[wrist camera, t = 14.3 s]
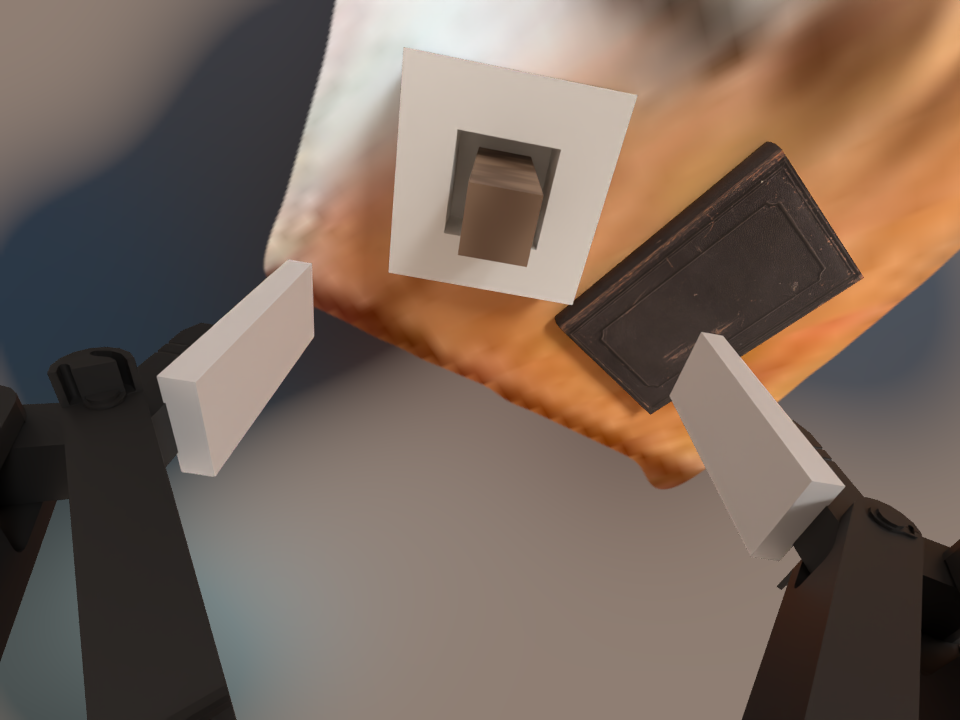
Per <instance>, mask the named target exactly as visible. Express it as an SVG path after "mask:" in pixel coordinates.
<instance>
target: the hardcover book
mask: <svg viewBox="0 0 960 720" xmlns="http://www.w3.org/2000/svg"><path fill="white" fill-rule="evenodd" d="M863 278H864V277H863V275H862V274H861V272H860V271H859V269H858V268H857V266H856V265H855V263H854V261H853V260H852V258H851V257H850V255H849V254H848V252H847V251H846V249H845V247H844V246H843V244H842V243H841V241H840V240H839V238H838V236H837V235H836V233H835V232H834V230H833V229H832V227H831V226H830V224H829V222H828V221H827V219H826V218H825V216H824V215H823V213H822V212H821V210H820V208H819V207H818V205H817V204H816V202H815V201H814V199H813V198H812V196H811V194H810V193H809V191H808V190H807V188H806V187H805V185H804V184H803V182H802V180H801V179H800V177H799V176H798V174H797V173H796V171H795V170H794V168H793V166H792V165H791V163H790V162H789V160H788V159H787V157H786V156H785V154H784V152H783V151H782V149H781V148H780V147H778V146H777V145H776V144H775V143H772V142H766V143H764V144H763V145H762V146H761V147H760V148H758V149H757V150H756V151H755V152H754V153H752V154H751V155H750V156H749V157H748V158H746V159H745V160H744V161H743V162H741V163H740V164H739V165H738V166H737V167H735V168H734V169H733V170H732V171H731V172H729V173H728V174H727V175H726V176H725V177H723V178H722V179H721V180H720V181H719V182H717V183H716V184H715V185H714V186H712V187H711V188H710V189H709V190H708V191H706V192H705V193H704V194H703V195H702V196H700V197H699V198H698V199H697V200H696V201H694V202H693V203H692V204H691V205H689V206H688V207H687V208H686V209H685V210H683V211H682V212H681V213H680V214H679V215H677V216H676V217H675V218H674V219H673V220H671V221H670V222H669V223H668V224H667V225H665V226H664V227H663V228H662V229H660V230H659V231H658V232H657V233H656V234H654V235H653V236H652V237H651V238H650V239H648V240H647V241H646V242H645V243H644V244H642V245H641V246H640V247H639V248H637V249H636V250H635V251H634V252H633V253H631V254H630V255H629V256H628V257H627V258H625V259H624V260H623V261H622V262H621V263H619V264H618V265H617V266H616V267H615V268H613V269H612V270H611V271H610V272H608V273H607V274H606V275H605V276H604V277H602V278H601V279H600V280H599V281H598V282H596V283H595V284H594V285H593V286H592V287H590V288H589V289H588V290H587V291H586V292H584V293H583V294H582V295H581V296H579V297H578V298H577V299H576V300H575V301H574V302H573V305H569V306H567V307H566V308H565V309H564V310H563V311H561V312H560V313H559V314H558V315H556V316H555V320H556V323H557V325H558V326H559V327H560V329H561V330H562V331H563V332H564V333H566V334H567V335H568V336H569V337H570V338H571V339H572V340H573V341H574V342H575V343H576V344H577V345H578V346H579V347H580V348H581V349H582V350H583V351H584V352H585V353H586V354H588V355H589V356H590V357H591V358H592V359H593V360H594V361H595V362H596V363H597V364H598V365H599V366H600V367H601V368H602V369H603V370H604V371H605V372H606V373H607V374H608V375H610V376H611V377H612V378H613V379H614V380H615V381H616V382H617V383H618V384H619V385H620V386H621V387H622V388H623V389H624V390H625V391H626V392H627V393H628V394H629V395H630V396H632V397H633V398H634V399H635V400H636V401H637V402H638V403H639V404H640V405H641V406H642V407H643V408H644V409H645V410H646V411H647V412H648V413H649V414H650V415H651V414H652V413H654V412H655V411H657V410H658V409H660V408H661V407H663V406H665V405H666V404H668V403H669V402H671V401H672V400H671V398H670V394H671V392H672V390H673V388H674V386H675V384H676V382H677V380H678V378H679V376H680V374H681V372H682V370H683V368H684V366H685V364H686V362H687V360H688V358H689V356H690V354H691V352H692V350H693V348H694V346H695V344H696V342H697V340H698V338H699V336H700V333H701V332H704V333H710V334H715V335H721V336H723V337H724V338H725V339H726V340H727V342H728V343H729V344H730V345H731V346H732V348H733V349H734V350H735V351H736V353H737V354H738V355H739V356H740V357H741V356H743V355H744V354H746V353H747V352H749V351H750V350H752V349H754V348H755V347H757V346H758V345H760V344H761V343H763V342H764V341H766V340H768V339H769V338H771V337H772V336H774V335H775V334H777V333H779V332H780V331H782V330H783V329H785V328H786V327H788V326H789V325H791V324H793V323H794V322H796V321H797V320H799V319H800V318H802V317H804V316H805V315H807V314H808V313H810V312H811V311H813V310H814V309H816V308H818V307H819V306H821V305H822V304H824V303H825V302H827V301H828V300H830V299H832V298H833V297H835V296H836V295H838V294H839V293H841V292H843V291H844V290H846V289H847V288H849V287H850V286H852V285H853V284H855V283H857V282H858V281H860V280H861V279H863Z"/></svg>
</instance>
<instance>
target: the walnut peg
mask: <svg viewBox="0 0 960 720" xmlns="http://www.w3.org/2000/svg"><path fill="white" fill-rule="evenodd" d="M542 200H543V192H542V189H541V186H540V183H539V180H538V177H537V174H536V171H535V168H534V164H533V161H532V158H531V157H530V156H525V155H520V154H514V153H509V152H504V151H498V150H493V149H488V148H483V147H479V149H478V152H477V155H476V159H475V162H474V165H473V168H472V172H471V175H470V178H469V182H468V188H467V195H466V202H465V209H464V216H463V222H462V229H461V236H460V243H459V250H458V255H461V256H466V257H472V258H478V259H483V260H489V261H495V262H500V263H506V264H512V265H517V266H523V267H527V264H528V260H529V256H530V251H531V247H532V243H533V239H534V234H535V230H536V226H537V222H538V217H539V213H540V209H541V205H542Z"/></svg>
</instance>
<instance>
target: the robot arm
mask: <svg viewBox="0 0 960 720" xmlns="http://www.w3.org/2000/svg"><path fill="white" fill-rule="evenodd" d="M313 337H314V314H313V281H312V263H306V262H301V261H295V260H289V259H288V260H287V261H286V262H284V263H283V264H282V265H281V266H280V267H279V268H278V269H277V270H275V271H274V272H273V273H272V274H271V275H270V276H269V277H268V278H266V279H265V280H264V281H263V282H262V283H261V284H260V285H259V286H258V287H256V288H255V289H254V290H253V291H252V292H251V293H250V294H249V295H247V296H246V297H245V298H244V299H243V300H242V301H241V302H239V303H238V304H237V305H236V306H235V307H234V308H233V309H232V310H231V311H229V312H228V313H227V314H226V315H225V316H224V317H223V318H221V319H220V320H219V321H218V322H217V323H216V324H215V325H211V324H204V323H200V324H198V325H195V326H192V327H190V328H188V329H185V330H183V331H181V332H180V333H179V334H177V335H176V336H175V337H174V338H172V339H171V340H170V341H169V344H165V345H164V346H163V347H162V348H160V349H159V350H158V353H154V354H153V355H152V356H150V357H149V358H148V359H147V360H146V361H144V362H143V363H142V364H141V365H140V366H138V367H137V366H136V362H135V359H134V357H133V356H132V355H131V353H130V352H127V351H125V350H122V349H120V348H110V347H101V348H89V349H85V350H82V351H77V352H73V353H71V354H69V355H67V356H64V357H62V358H60V359H58V360H57V361H56V362H55V363H53V364H52V365H51V366H50V368H49V371H48V376H49V379H50V381H51V383H52V386H53V388H54V390H55V393H56V395H57V398H58V400H59V403H48V404H30V405H29V404H27V405H22V404H21V402H20V400H19V398H18V396H17V394H16V393H15V392H14V391H13V390H12V389H11V388H9V387H5V386H1V385H0V661H1V658H2V655H3V652H4V649H5V647H6V644H7V641H8V638H9V635H10V632H11V629H12V627H13V623H14V621H15V618H16V615H17V612H18V610H19V607H20V604H21V601H22V598H23V595H24V592H25V589H26V586H27V584H28V581H29V578H30V575H31V573H32V570H33V567H34V564H35V561H36V558H37V556H38V553H39V550H40V547H41V544H42V541H43V538H44V536H45V533H46V530H47V527H48V524H49V521H50V518H51V516H52V513H53V510H54V507H55V504H56V501H57V500H63V499H69V503H70V514H71V527H72V540H73V552H74V564H75V576H76V588H77V601H78V612H79V625H80V637H81V649H82V661H83V674H84V684H85V685H84V686H85V698H86V710H87V720H237V719H236V716H235V712H234V709H233V705H232V702H231V698H230V695H229V691H228V687H227V684H226V680H225V677H224V673H223V670H222V666H221V663H220V659H219V656H218V652H217V648H216V645H215V642H214V638H213V634H212V631H211V628H210V624H209V620H208V616H207V613H206V610H205V606H204V602H203V599H202V595H201V592H200V588H199V585H198V581H197V577H196V574H195V570H194V567H193V563H192V560H191V556H190V553H189V549H188V546H187V542H186V538H185V534H184V531H183V527H182V524H181V520H180V517H179V513H178V510H177V506H176V503H175V499H174V495H173V492H172V488H171V485H170V481H169V478H168V474H167V471H166V466H167V465H168V464H169V463H170V462H171V460H172V459H173V458H174V457H175V456H176V454H177V456H178V460H179V464H180V468H181V471H182V472H186V473H193V474H199V475H206V476H213V477H215V476H216V475H217V473H218V472H219V470H220V469H221V468H222V466H223V465H224V463H225V462H226V460H227V459H228V458H229V456H230V455H231V453H232V452H233V451H234V449H235V448H236V446H237V445H238V444H239V442H240V441H241V439H242V438H243V436H244V435H245V433H246V432H247V431H248V429H249V428H250V427H251V425H252V424H253V422H254V421H255V419H256V418H257V417H258V415H259V414H260V412H261V411H262V410H263V408H264V406H265V405H266V404H267V402H268V401H269V399H270V398H271V397H272V395H273V394H274V393H275V391H276V390H277V388H278V387H279V385H280V384H281V383H282V381H283V380H284V378H285V377H286V376H287V374H288V373H289V371H290V370H291V368H292V367H293V366H294V364H295V363H296V361H297V360H298V359H299V357H300V356H301V354H302V353H303V351H304V350H305V349H306V347H307V346H308V344H309V343H310V342H311V340H312V339H313ZM670 398H671V400H672V402H673V404H674V406H675V408H676V410H677V412H678V414H679V416H680V418H681V420H682V422H683V424H684V426H685V428H686V430H687V432H688V434H689V436H690V438H691V440H692V442H693V444H694V446H695V448H696V450H697V452H698V454H699V456H700V458H701V460H702V462H703V464H704V466H705V468H706V470H707V471H708V473H709V475H710V478H711V480H712V482H713V483H714V485H715V487H716V489H717V491H718V493H719V495H720V497H721V499H722V501H723V503H724V505H725V507H726V509H727V511H728V513H729V515H730V517H731V519H732V521H733V523H734V525H735V527H736V529H737V531H738V533H739V535H740V537H741V539H742V541H743V543H744V545H745V547H746V549H747V551H748V553H749V555H750V557H755V558H761V559H768V560H776V561H780V560H781V559H782V558H783V557H784V556H785V554H786V553H787V552H788V551H789V550H790V549H791V548H792V547H793V546H794V547H795V549H796V551H797V552H798V554H799V556H800V557H801V559H802V560H801V561H800V562H799V563H798V564H797V565H796V566H795V567H794V568H793V569H792V570H791V571H790V573H789V574H788V575H787V576H786V577H785V578H784V579H783V580H782V581H781V582H780V584H779V585H778V586H777V587H778V588H780V589H781V590H782V589H783V588H784V587H785V586H787V588H786V591H785V594H784V597H783V600H782V603H781V606H780V609H779V612H778V615H777V617H776V620H775V623H774V626H773V629H772V632H771V635H770V638H769V641H768V644H767V647H766V650H765V653H764V656H763V659H762V662H761V665H760V668H759V671H758V674H757V677H756V680H755V682H754V686H753V688H752V691H751V694H750V697H749V700H748V703H747V706H746V709H745V712H744V715H743V718H742V720H960V540H958V541H957V542H956V543H955V544H954V545H953V546H951V547H947V546H945V545H942V544H940V543H937V542H934V541H932V540H929V539H926V538H924V537H922V534H921V532H920V531H919V530H918V529H917V527H916V526H915V525H914V523H913V522H911V521H910V520H909V519H908V518H907V517H906V516H904V515H903V514H902V513H901V512H899V511H897V510H896V509H894V508H893V507H891V506H889V505H887V504H885V503H883V502H880V501H878V500H875V499H871V498H867V497H863V496H862V494H861V493H860V492H859V491H858V489H857V488H856V487H855V486H854V485H853V484H852V482H851V481H850V480H849V479H848V478H847V476H846V475H845V474H844V473H843V472H842V471H841V469H840V468H839V467H838V466H837V464H836V463H835V462H833V461H831V457H830V456H829V455H828V454H827V452H826V451H825V450H822V447H821V445H820V444H819V443H818V442H817V441H816V439H815V438H814V437H813V436H812V435H811V433H809V432H808V431H807V430H805V429H804V428H803V427H802V426H800V425H799V424H798V423H796V422H795V421H794V420H791V419H790V418H789V416H788V415H787V414H786V413H785V412H784V410H783V409H782V408H781V407H780V405H779V404H778V403H777V402H776V400H775V399H774V398H773V397H772V396H771V394H770V393H769V392H768V391H767V389H766V388H765V387H764V386H763V385H762V383H761V382H760V381H759V380H758V378H757V377H756V376H755V375H754V373H753V372H752V371H751V370H750V369H749V367H748V366H747V365H746V364H745V362H744V361H743V360H742V359H741V357H740V356H739V355H738V354H737V353H736V351H735V350H734V349H733V348H732V346H731V345H730V344H729V343H728V342H727V340H726V339H725V338H724V337H723V336H721V335H715V334H710V333H704V332H701V333H700V336H699V338H698V340H697V342H696V344H695V346H694V348H693V350H692V352H691V354H690V356H689V358H688V360H687V362H686V364H685V366H684V368H683V370H682V372H681V374H680V376H679V378H678V380H677V382H676V384H675V386H674V388H673V390H672V392H671V394H670Z"/></svg>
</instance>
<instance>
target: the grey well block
mask: <svg viewBox="0 0 960 720" xmlns="http://www.w3.org/2000/svg"><path fill="white" fill-rule="evenodd" d="M637 96H638V95H635V94H630V93H625V92H620V91H615V90H610V89H605V88H600V87H596V86H591V85H586V84H581V83H576V82H571V81H566V80H561V79H557V78H552V77H547V76H542V75H537V74H532V73H527V72H522V71H517V70H513V69H508V68H503V67H498V66H493V65H488V64H483V63H478V62H474V61H469V60H464V59H459V58H454V57H449V56H444V55H439V54H435V53H430V52H425V51H420V50H415V49H410V48H405V47H404V51H403V65H402V80H401V95H400V110H399V125H398V139H397V154H396V169H395V184H394V199H393V213H392V228H391V243H390V258H389V273H394V274H399V275H405V276H411V277H416V278H422V279H428V280H433V281H439V282H445V283H450V284H456V285H462V286H467V287H473V288H479V289H484V290H490V291H496V292H501V293H507V294H513V295H518V296H524V297H529V298H535V299H541V300H546V301H552V302H558V303H563V304H569V305H573V302H574V298H575V295H576V292H577V289H578V285H579V282H580V279H581V276H582V273H583V269H584V266H585V263H586V260H587V256H588V253H589V250H590V247H591V244H592V240H593V237H594V234H595V231H596V228H597V224H598V221H599V218H600V215H601V211H602V208H603V205H604V202H605V199H606V195H607V192H608V189H609V186H610V183H611V179H612V176H613V173H614V170H615V166H616V163H617V160H618V157H619V154H620V150H621V147H622V144H623V141H624V137H625V134H626V131H627V128H628V125H629V121H630V118H631V115H632V112H633V109H634V105H635V102H636V99H637ZM479 147H483V148H488V149H493V150H498V151H504V152H509V153H514V154H520V155H525V156H530V157H531V158H532V161H533V164H534V168H535V171H536V174H537V177H538V180H539V183H540V186H541V189H542V192H543V200H542V205H541V209H540V213H539V217H538V222H537V226H536V230H535V234H534V239H533V243H532V247H531V251H530V256H529V260H528V264H527V267H523V266H517V265H512V264H506V263H500V262H495V261H489V260H483V259H478V258H472V257H466V256H461V255H458V250H459V243H460V236H461V229H462V222H463V216H464V209H465V202H466V195H467V188H468V182H469V178H470V175H471V172H472V168H473V165H474V162H475V159H476V155H477V152H478V149H479Z"/></svg>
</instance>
